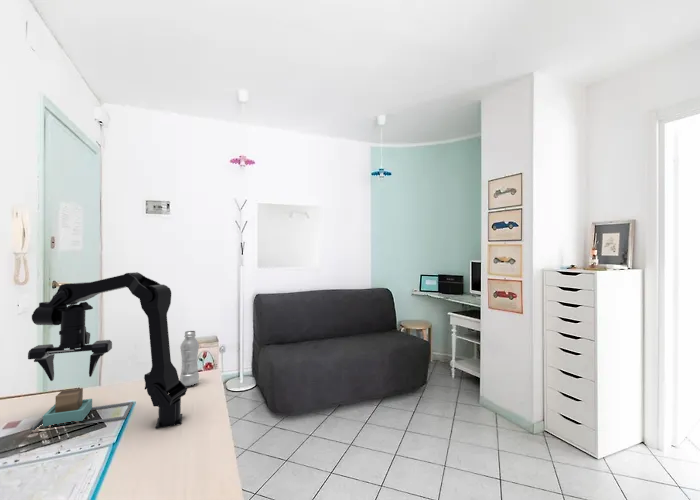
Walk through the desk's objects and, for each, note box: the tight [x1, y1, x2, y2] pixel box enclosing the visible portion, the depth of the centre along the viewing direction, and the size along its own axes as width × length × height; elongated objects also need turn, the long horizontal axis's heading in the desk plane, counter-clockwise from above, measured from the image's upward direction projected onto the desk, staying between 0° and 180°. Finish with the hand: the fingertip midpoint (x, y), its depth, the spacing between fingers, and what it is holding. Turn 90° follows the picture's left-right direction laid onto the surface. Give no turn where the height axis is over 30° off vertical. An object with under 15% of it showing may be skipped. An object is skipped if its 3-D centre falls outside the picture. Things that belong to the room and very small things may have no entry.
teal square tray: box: [42, 398, 93, 427], centre depth 101 cm, size 9×9×4 cm
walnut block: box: [54, 387, 84, 413], centre depth 101 cm, size 5×5×5 cm
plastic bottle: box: [179, 330, 200, 387], centre depth 129 cm, size 6×7×20 cm
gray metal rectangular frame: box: [30, 401, 134, 431], centre depth 102 cm, size 12×22×2 cm, turn 113°
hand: (71, 378), depth 101 cm, fingers open, 9 cm apart
